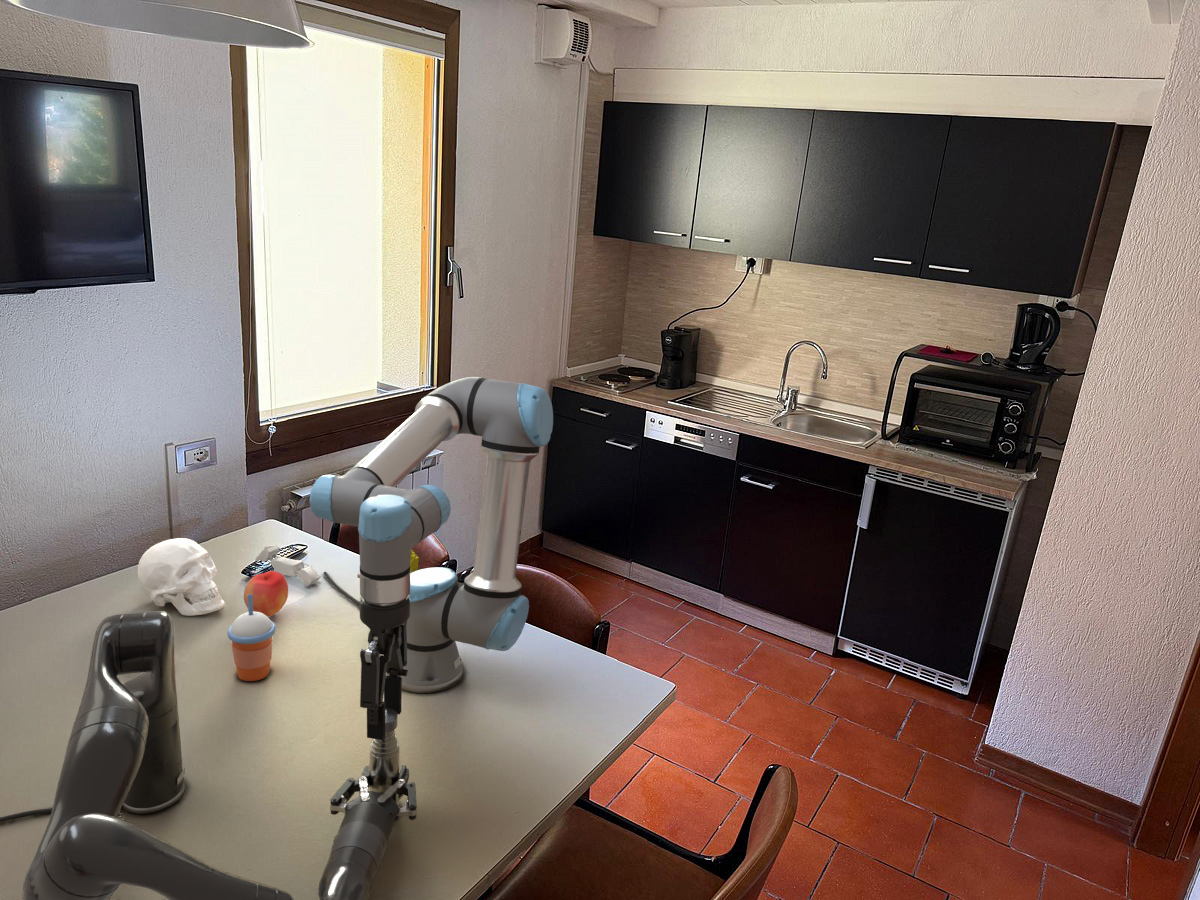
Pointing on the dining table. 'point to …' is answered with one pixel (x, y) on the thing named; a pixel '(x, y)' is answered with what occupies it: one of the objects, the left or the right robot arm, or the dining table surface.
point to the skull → (180, 576)
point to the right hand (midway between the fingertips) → (384, 724)
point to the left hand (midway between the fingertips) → (388, 768)
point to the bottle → (384, 762)
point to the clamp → (288, 565)
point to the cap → (390, 720)
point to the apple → (267, 592)
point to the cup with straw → (252, 643)
